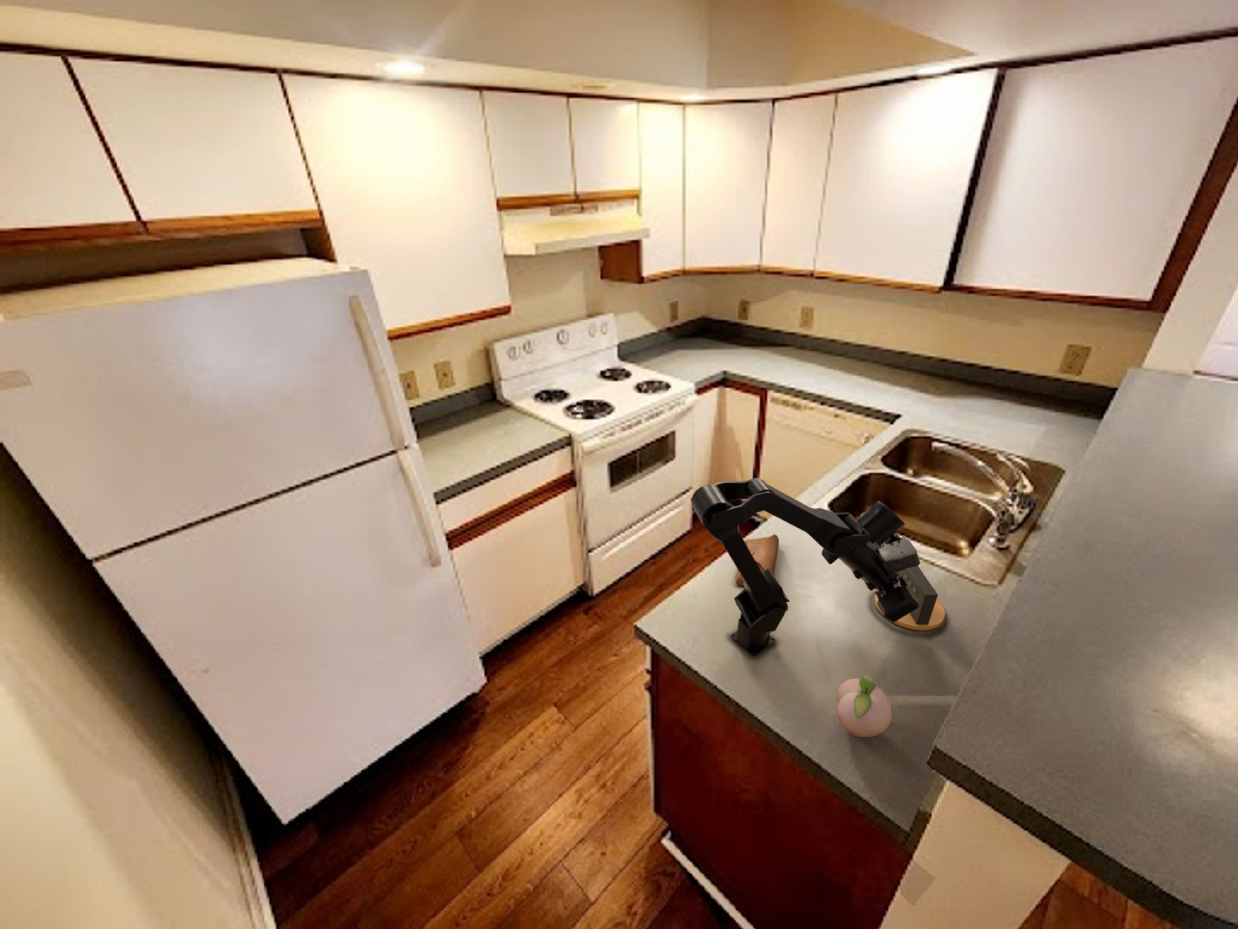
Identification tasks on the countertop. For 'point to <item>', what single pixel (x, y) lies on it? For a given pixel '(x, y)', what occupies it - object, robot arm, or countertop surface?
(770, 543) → the sunglasses case
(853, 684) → the decorative fruit
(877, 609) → the turntable base
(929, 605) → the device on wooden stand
